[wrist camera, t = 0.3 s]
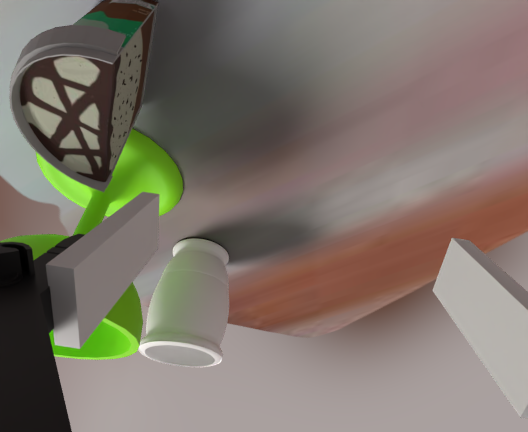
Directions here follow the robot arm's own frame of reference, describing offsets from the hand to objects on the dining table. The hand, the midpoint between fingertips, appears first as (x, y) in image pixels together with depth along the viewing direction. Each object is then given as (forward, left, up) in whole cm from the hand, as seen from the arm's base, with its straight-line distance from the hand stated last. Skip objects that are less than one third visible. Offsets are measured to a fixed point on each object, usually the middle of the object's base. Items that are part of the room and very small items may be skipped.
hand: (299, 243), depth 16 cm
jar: (+31, -12, -18) cm, 38 cm away
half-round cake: (0, -15, -18) cm, 24 cm away
